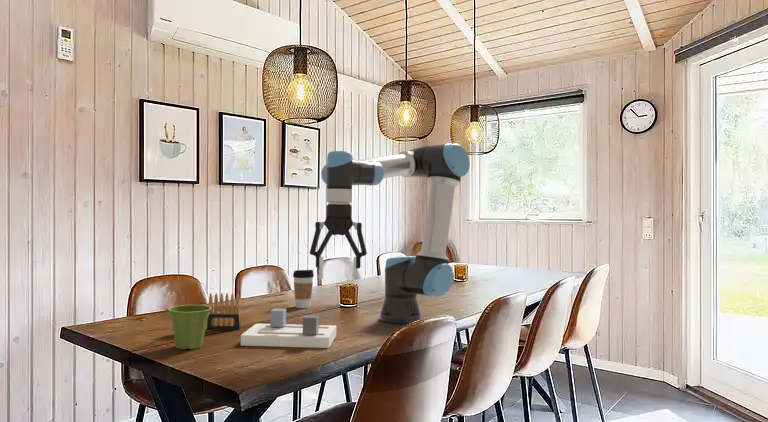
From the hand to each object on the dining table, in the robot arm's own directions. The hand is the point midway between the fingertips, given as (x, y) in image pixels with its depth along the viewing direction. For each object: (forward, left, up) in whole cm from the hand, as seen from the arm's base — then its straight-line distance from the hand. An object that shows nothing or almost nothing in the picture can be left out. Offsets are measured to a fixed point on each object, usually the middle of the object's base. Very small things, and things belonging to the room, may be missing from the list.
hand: (338, 279), depth 162 cm
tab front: (+8, 0, -16) cm, 18 cm away
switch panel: (+15, -5, -20) cm, 25 cm away
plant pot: (+42, +6, -20) cm, 47 cm away
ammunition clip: (+40, -17, -20) cm, 48 cm away
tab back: (+20, -9, -16) cm, 27 cm away
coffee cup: (+22, -59, -20) cm, 66 cm away
